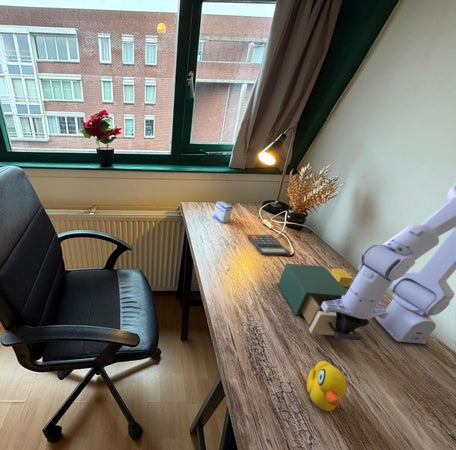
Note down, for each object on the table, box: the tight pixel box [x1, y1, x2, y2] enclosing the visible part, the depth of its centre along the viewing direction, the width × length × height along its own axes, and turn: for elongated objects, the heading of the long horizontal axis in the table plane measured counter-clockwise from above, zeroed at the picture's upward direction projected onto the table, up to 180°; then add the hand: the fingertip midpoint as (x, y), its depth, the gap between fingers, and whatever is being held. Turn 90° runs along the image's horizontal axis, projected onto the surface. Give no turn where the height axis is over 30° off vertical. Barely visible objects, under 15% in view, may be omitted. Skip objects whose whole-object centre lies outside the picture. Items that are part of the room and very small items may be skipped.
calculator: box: [247, 234, 290, 256], centre depth 108 cm, size 12×1×15 cm
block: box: [330, 267, 354, 288], centre depth 88 cm, size 5×4×4 cm
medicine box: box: [213, 200, 233, 224], centre depth 127 cm, size 8×4×9 cm, turn 25°
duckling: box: [306, 360, 348, 412], centre depth 50 cm, size 11×5×10 cm, turn 151°
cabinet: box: [278, 263, 348, 317], centre depth 77 cm, size 14×13×9 cm
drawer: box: [301, 295, 363, 341], centre depth 68 cm, size 17×11×7 cm
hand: (339, 332), depth 63 cm, fingers closed, pressing on drawer
